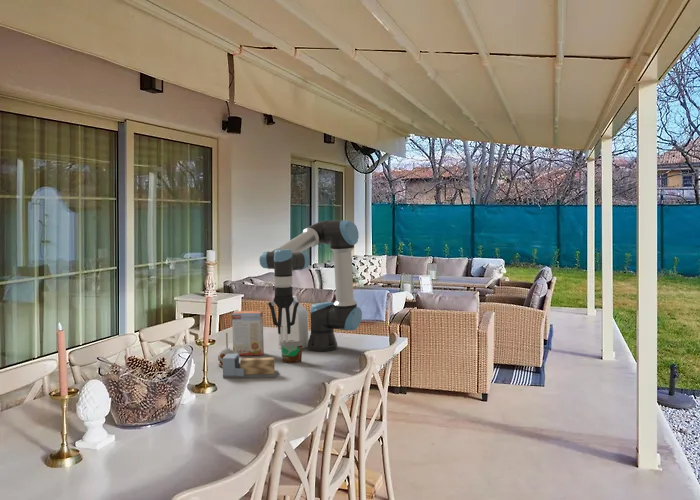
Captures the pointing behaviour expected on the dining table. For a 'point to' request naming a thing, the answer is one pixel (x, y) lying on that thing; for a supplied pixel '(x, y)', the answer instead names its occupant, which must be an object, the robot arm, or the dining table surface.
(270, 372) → the oak slat
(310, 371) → the dining table surface
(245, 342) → the cracker box
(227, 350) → the decorative ornament
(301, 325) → the milk
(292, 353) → the food container
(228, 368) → the board
